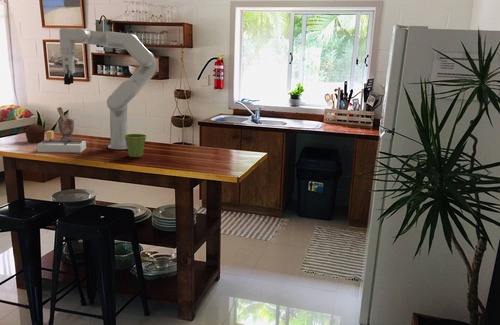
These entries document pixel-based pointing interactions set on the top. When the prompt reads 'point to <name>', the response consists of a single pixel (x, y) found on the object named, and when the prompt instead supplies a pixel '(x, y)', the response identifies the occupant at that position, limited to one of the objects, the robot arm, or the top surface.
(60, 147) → the control panel
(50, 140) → the slider tab
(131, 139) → the plant pot
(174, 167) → the top surface
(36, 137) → the muffin
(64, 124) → the mortar and pestle
